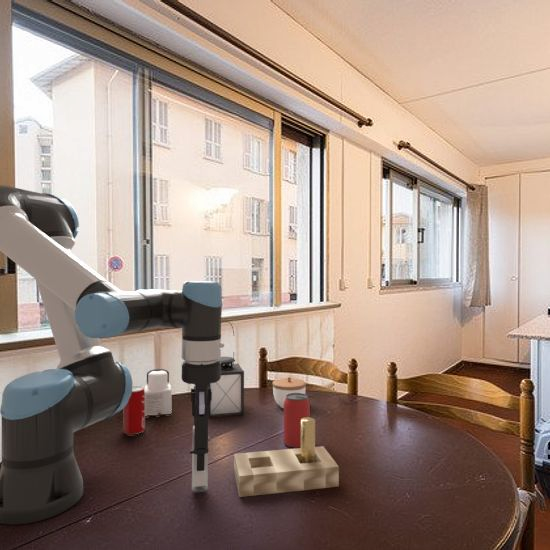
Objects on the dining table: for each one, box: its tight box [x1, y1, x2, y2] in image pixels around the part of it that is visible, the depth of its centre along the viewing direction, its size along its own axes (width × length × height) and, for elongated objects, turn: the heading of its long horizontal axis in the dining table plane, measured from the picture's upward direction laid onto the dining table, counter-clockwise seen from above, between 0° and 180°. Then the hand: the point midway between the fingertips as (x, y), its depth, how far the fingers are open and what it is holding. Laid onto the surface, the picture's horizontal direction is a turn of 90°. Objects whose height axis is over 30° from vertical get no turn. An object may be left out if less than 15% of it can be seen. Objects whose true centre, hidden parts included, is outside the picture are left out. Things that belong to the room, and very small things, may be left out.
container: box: [144, 368, 173, 416], centre depth 127 cm, size 8×8×13 cm
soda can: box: [122, 385, 146, 435], centre depth 111 cm, size 6×6×12 cm
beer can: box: [283, 393, 311, 449], centre depth 104 cm, size 7×7×12 cm
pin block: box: [233, 445, 340, 498], centre depth 86 cm, size 20×10×4 cm, turn 101°
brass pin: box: [301, 417, 316, 464], centre depth 87 cm, size 3×3×12 cm
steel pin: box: [191, 425, 209, 493], centre depth 81 cm, size 3×3×12 cm
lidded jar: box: [272, 376, 307, 410], centre depth 133 cm, size 11×11×9 cm
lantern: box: [208, 320, 245, 418], centre depth 129 cm, size 11×11×28 cm
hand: (199, 480), depth 81 cm, fingers closed on steel pin, 3 cm apart
